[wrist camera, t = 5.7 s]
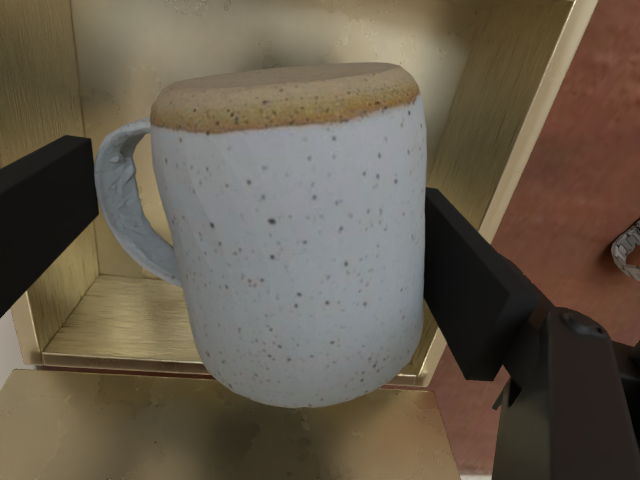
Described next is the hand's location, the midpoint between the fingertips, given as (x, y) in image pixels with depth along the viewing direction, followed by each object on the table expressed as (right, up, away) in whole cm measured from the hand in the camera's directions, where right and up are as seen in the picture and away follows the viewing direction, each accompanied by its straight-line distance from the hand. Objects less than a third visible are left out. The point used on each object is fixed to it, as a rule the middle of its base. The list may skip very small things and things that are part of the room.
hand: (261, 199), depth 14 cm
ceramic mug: (0, +1, +1) cm, 2 cm away
